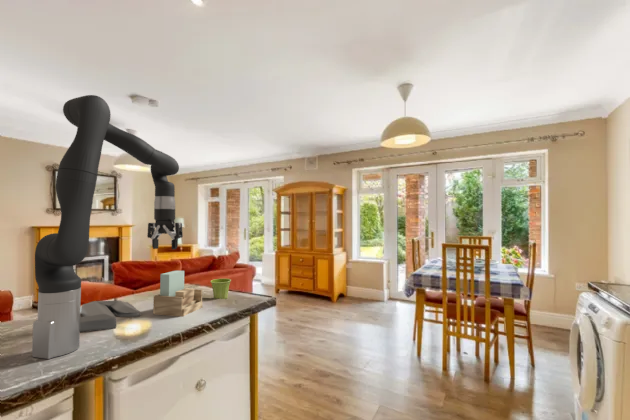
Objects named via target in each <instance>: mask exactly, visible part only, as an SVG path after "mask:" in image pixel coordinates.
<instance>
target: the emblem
mask: <svg viewBox="0 0 630 420" xmlns="http://www.w3.org/2000/svg"><path fill="white" fill-rule="evenodd" d="M80 314H81V315H80V333H83V332H84V333H85V332H95V331H104V330H114V329H117V317H120V318H139V317H141V311H140V310H139V309H137V308H136V307H135V306H134V305H133V304H131V303H130V302H128V301H122V300H95V301H89V302H88V303H83V304H82V306H81V307H80Z"/></svg>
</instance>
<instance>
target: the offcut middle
mask: <svg viewBox="0 0 630 420" xmlns="http://www.w3.org/2000/svg"><path fill="white" fill-rule="evenodd" d="M193 301H194V295H193V296H190V297H187V298H184V299H183V306H184V305H186V304H188V303H190V302H193Z"/></svg>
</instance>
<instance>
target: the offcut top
mask: <svg viewBox="0 0 630 420" xmlns="http://www.w3.org/2000/svg"><path fill="white" fill-rule="evenodd" d="M194 289H195V288H187V287H185V288H184V289H182V290H179V291H176V292H175V297H183V299H184V298H187V297H190V296H193V295H194Z"/></svg>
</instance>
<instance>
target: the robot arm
mask: <svg viewBox="0 0 630 420" xmlns="http://www.w3.org/2000/svg"><path fill="white" fill-rule="evenodd" d="M62 108H63V109H62V112H63V116H64V117H65V119H66V120H67V121H68V122H69V123H70V124H71V125H72V126H75V127H77V129H76V134H75V136H74V137H73V141H72V142H71V144H69V145H70V146H69V147H68V148H67V150H66V152H65V153H64V155H63V156H62V158H61V160H60V162H59V166H58V169H57V173H56V179H55V192H56V197H57V202H58V203H59V208H60V221H59V222H60V223H59V225H58V230H57V232H54V233H53V232H52V233H50V234H47V235H44V236H43V237H41V239H39V241H38V242H37V244H36V247H35V250H34V279H35V282H36V283H37V286H38V297H37V298H38V299H37V301H38V302H37V319H36V320H34V321H33V324H32V346H31V348H32V351H31V357H33V358H40V359H46V360H47V359H48V360H50V359H52V358H56V357H61V356H64V355H67V354H71V353H72V352H75V351H76V350H78V349H79V348H80V337H81V336H80V334H81V332H80V316H81V299H82V279H81V277H80V276H79V275H77V273H76V272H75V270H74V266H77V265H78V264H81V262H82V261H84V259H85V258H86V256H87V254H88V251H89V248H90V247H89V245H90V224H91V223H90V222H91V215H92V209H93V203H94V202H93V201H94V195H95V191H96V187H97V186H96V185H97V181H98V174H99V167H100V162H101V161H100V160H101V156H102V149H103V145H104V142H105V141H106V142H108V143H109V144H111V145H113V146H114V147H117V148H119V149H120V150H121V151H123V152H125V153H127V154H128V155H130V156H131V157H132V158H134V159H136V160H137V161H139V162H140V163H142V164H144V165H148V166H149V165H150V173H151V177H152V181H153V184H154V200H153V201H154V202H153V206H154V207H153V209H154V210H153V211H154V212H153V215H154V216H153V217H154V218H153V219H154V221H155V222H148V223H147V234H146V235H147V236H146V237H147V238H148V239H151V245H152V246H151V247H152V249H153V250H157V249H159V238H160V236H161V235H163V234H164V235H165V234H167V235H168V236H169V237H170V239H171V250H176V249H177V248H178V247H179V246H178V244H179V239H181V238H183V236H184V235H183V234H184V233H183V223H182V222H175V221H176V198H175V196H176V195H175V194H176V192H175V190H176V189H175V184H174V183H173V182H171V181H168V176H169V177H170V176H174V175H176V174H177V173H179V171H180V165H179V163H178V161H177V160H176V159H175V158H174V157H172V156H171V155H169V154H167V153H165V152H163V151H162V150H161V151H160V150H158V149H156V148H154V147H153V146H152V145H151V144H149V143H148V142H146V140H144V139H142V138H140V137H139V136H137V135H134V134H132V133H130V132H128V131H126V130H123V129H120V128H119V127H117V126H115V125H113V124H112V123H110V122H111V116H112V115H111V108H110V107H109V104H108V103H107V102H106V100H105V99H103V97H100V96H98V95H96V94H89V95H83V96H79V97H74V98H72V99H71V98H70V99H68V100H67V101H65V103H64V104H63V107H62Z"/></svg>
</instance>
